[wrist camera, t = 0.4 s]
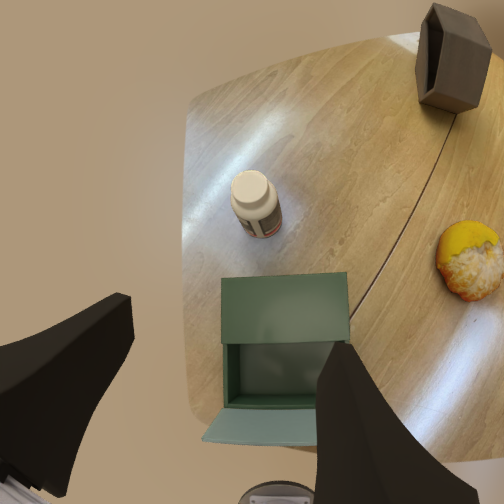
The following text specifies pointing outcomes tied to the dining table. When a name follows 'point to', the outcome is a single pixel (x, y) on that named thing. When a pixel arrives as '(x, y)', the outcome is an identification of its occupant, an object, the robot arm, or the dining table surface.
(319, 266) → the dining table surface
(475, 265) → the fruit
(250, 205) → the pill bottle
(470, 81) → the planter
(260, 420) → the hatch
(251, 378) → the seed box
